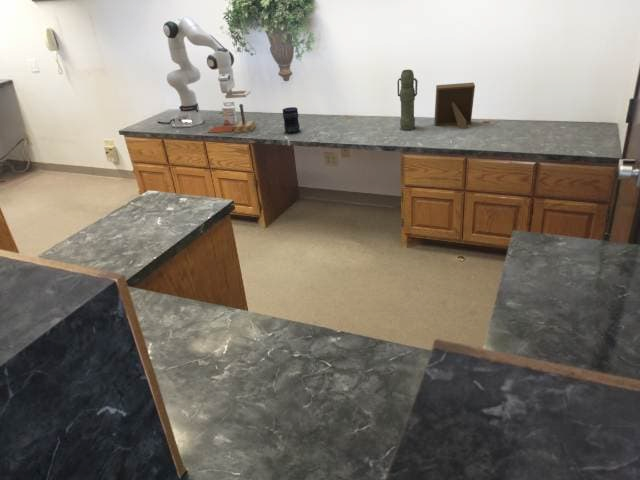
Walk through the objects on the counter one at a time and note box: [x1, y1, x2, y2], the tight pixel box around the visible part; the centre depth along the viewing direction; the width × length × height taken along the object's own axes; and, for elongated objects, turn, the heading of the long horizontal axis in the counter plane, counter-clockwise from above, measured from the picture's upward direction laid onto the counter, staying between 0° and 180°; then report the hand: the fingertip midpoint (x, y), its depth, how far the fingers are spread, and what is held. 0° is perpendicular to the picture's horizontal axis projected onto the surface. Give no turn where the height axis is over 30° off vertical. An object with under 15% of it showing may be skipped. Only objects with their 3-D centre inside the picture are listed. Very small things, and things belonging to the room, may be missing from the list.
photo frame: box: [433, 82, 476, 129], centre depth 307 cm, size 15×22×25 cm
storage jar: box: [282, 106, 301, 135], centre depth 328 cm, size 10×10×15 cm
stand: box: [233, 103, 256, 134], centre depth 343 cm, size 12×12×18 cm
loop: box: [224, 89, 252, 99], centre depth 336 cm, size 14×14×2 cm
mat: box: [208, 125, 235, 134], centre depth 353 cm, size 16×14×1 cm
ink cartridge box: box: [221, 101, 238, 125], centre depth 362 cm, size 9×5×15 cm, turn 84°
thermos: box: [397, 69, 419, 131], centre depth 308 cm, size 9×12×35 cm
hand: (229, 97), depth 332 cm, fingers closed on loop, 2 cm apart
